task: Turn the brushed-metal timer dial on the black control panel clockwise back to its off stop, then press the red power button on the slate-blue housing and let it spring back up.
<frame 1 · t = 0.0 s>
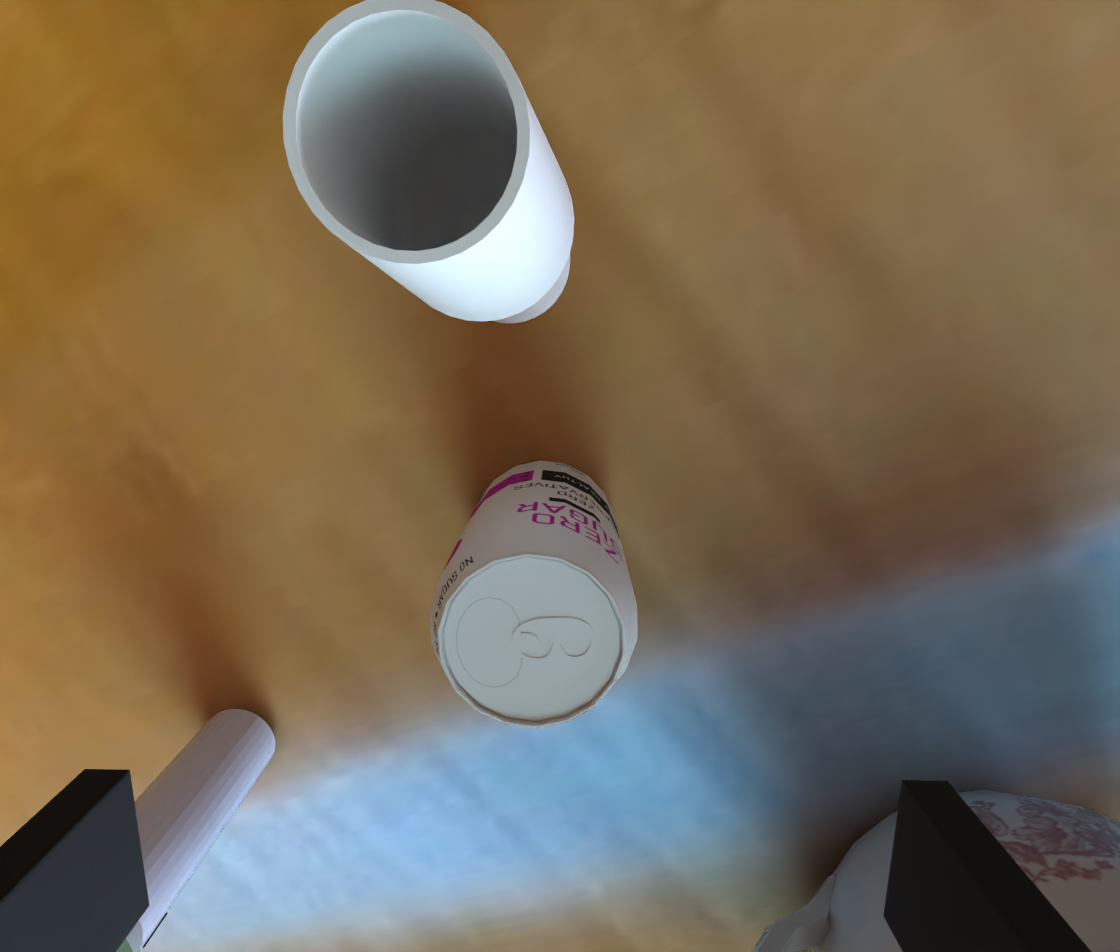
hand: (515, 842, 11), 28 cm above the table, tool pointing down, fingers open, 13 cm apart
chamber pot: (944, 887, 45), on the table
supplement can: (544, 525, 40), on the table
champagne flute: (509, 260, 36), on the table
perfume bottle: (246, 732, 43), on the table
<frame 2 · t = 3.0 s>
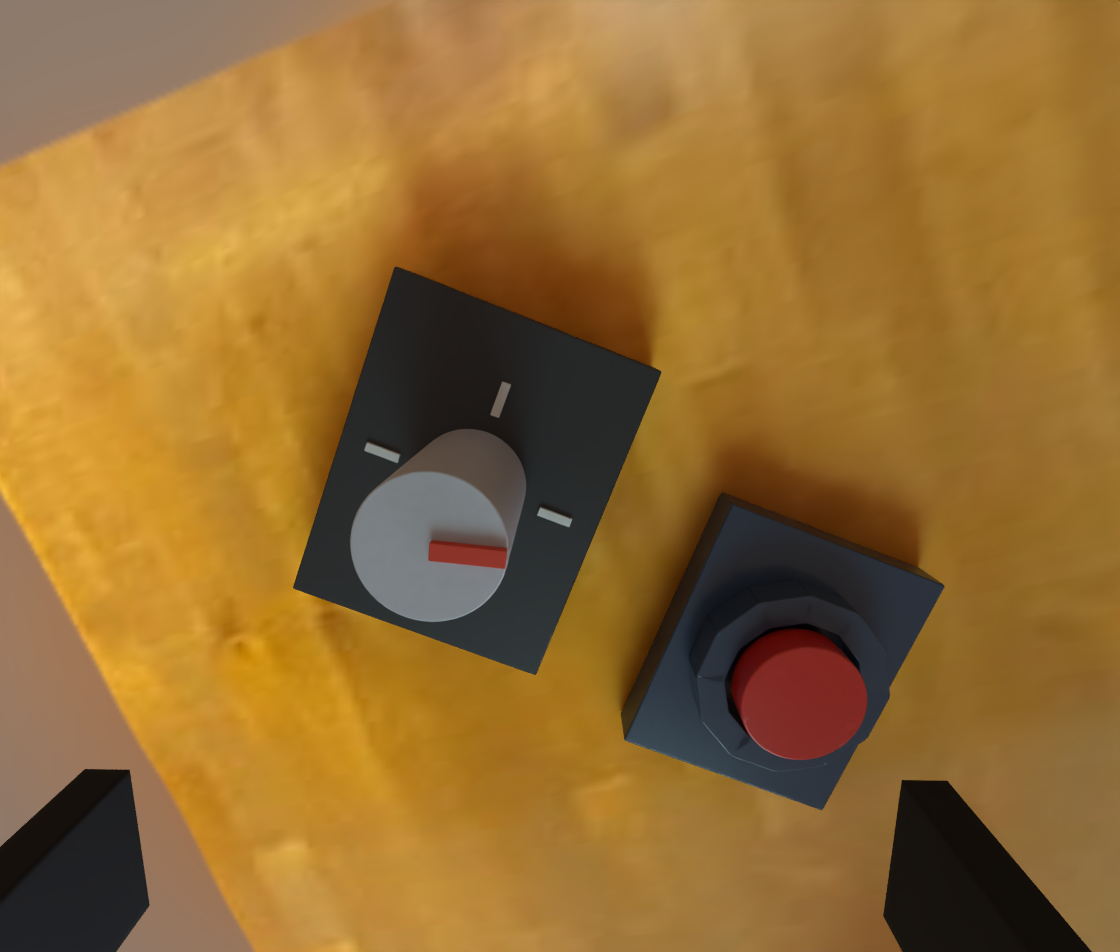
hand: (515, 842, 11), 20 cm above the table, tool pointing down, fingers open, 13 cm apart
control panel: (479, 469, 30), on the table
button housing: (765, 642, 32), on the table
power button: (797, 693, 27), point 4 cm above the table, slide at 0.1 cm
timer dial: (452, 512, 23), point 7 cm above the table, hinge at 105.0°
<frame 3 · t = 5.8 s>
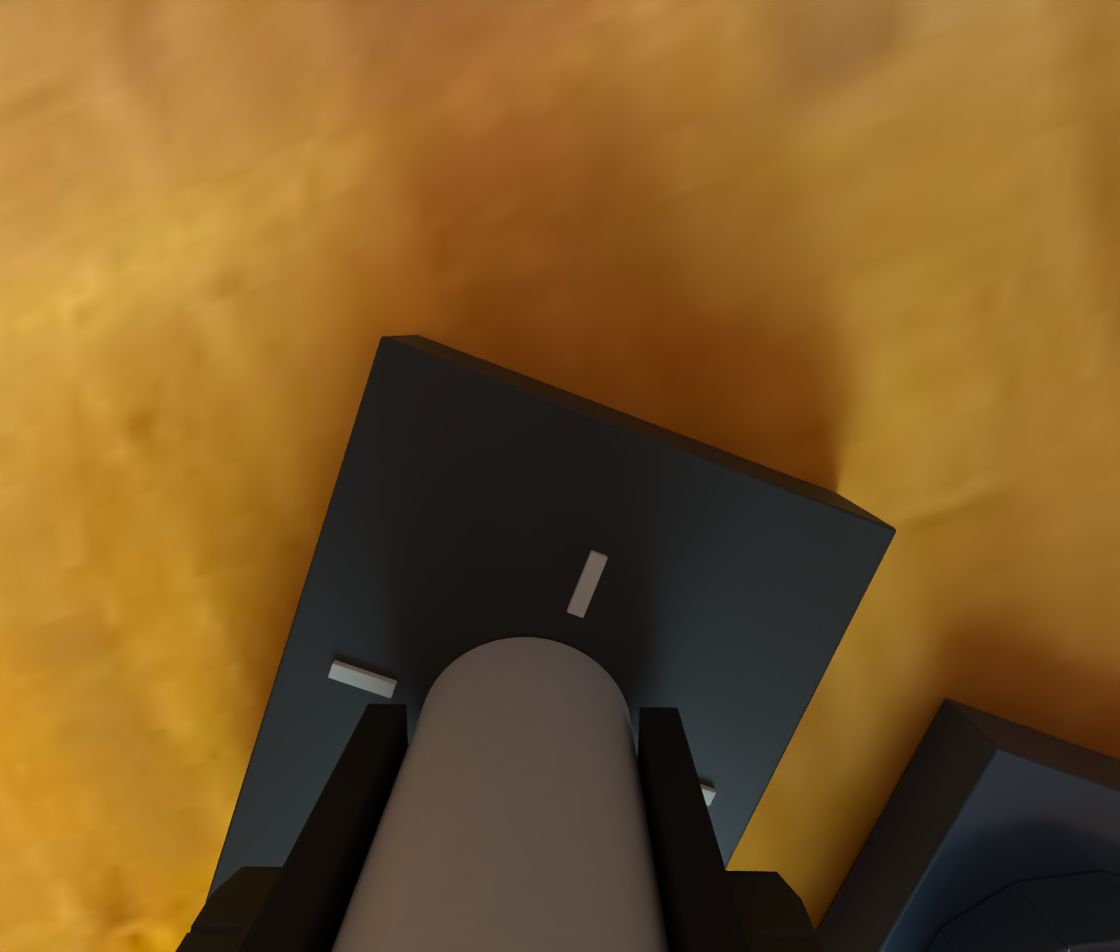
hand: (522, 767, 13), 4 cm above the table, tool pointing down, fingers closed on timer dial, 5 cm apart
control panel: (532, 664, 18), on the table
button housing: (1002, 929, 19), on the table
timer dial: (510, 890, 10), point 7 cm above the table, hinge at 105.0°, touching gripper
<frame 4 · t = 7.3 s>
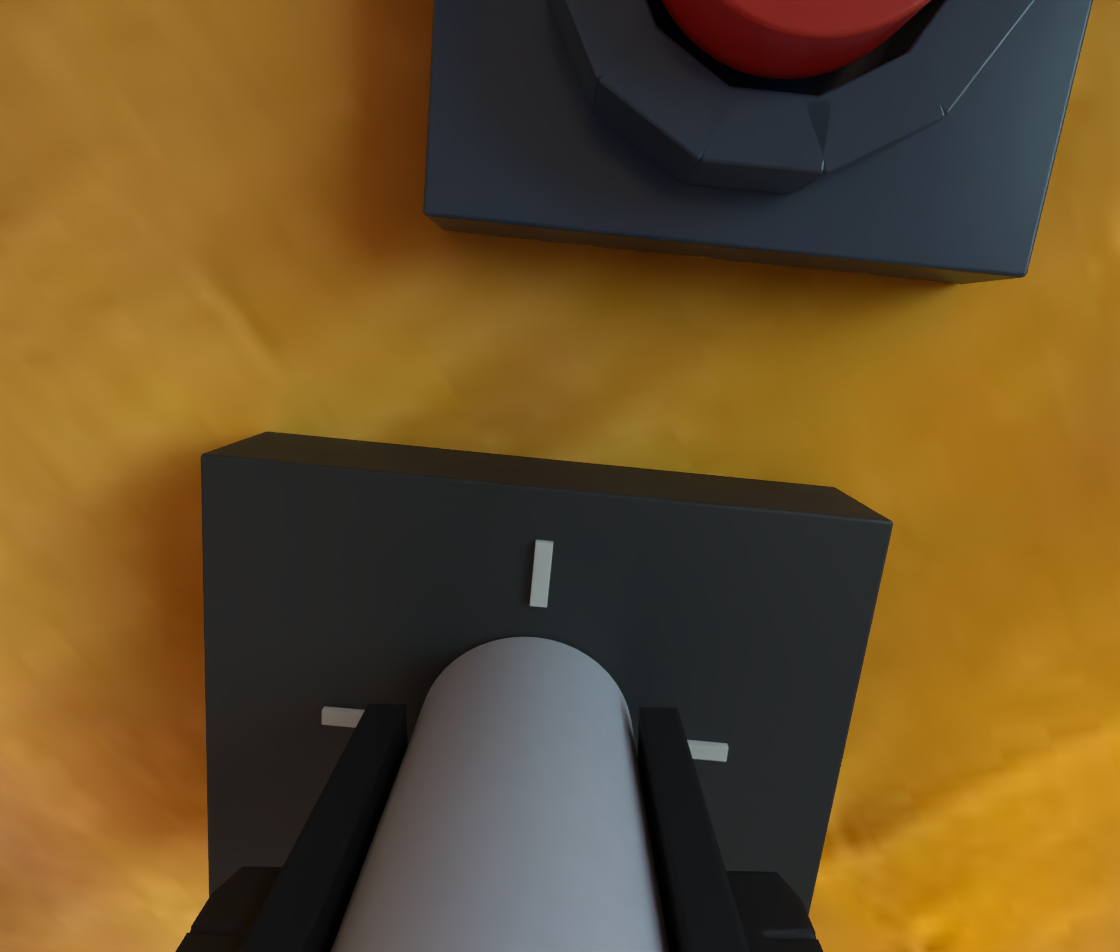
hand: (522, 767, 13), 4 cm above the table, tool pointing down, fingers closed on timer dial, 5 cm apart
control panel: (532, 664, 17), on the table
button housing: (738, 12, 14), on the table
timer dial: (510, 890, 10), point 7 cm above the table, hinge at 0.5°, touching gripper
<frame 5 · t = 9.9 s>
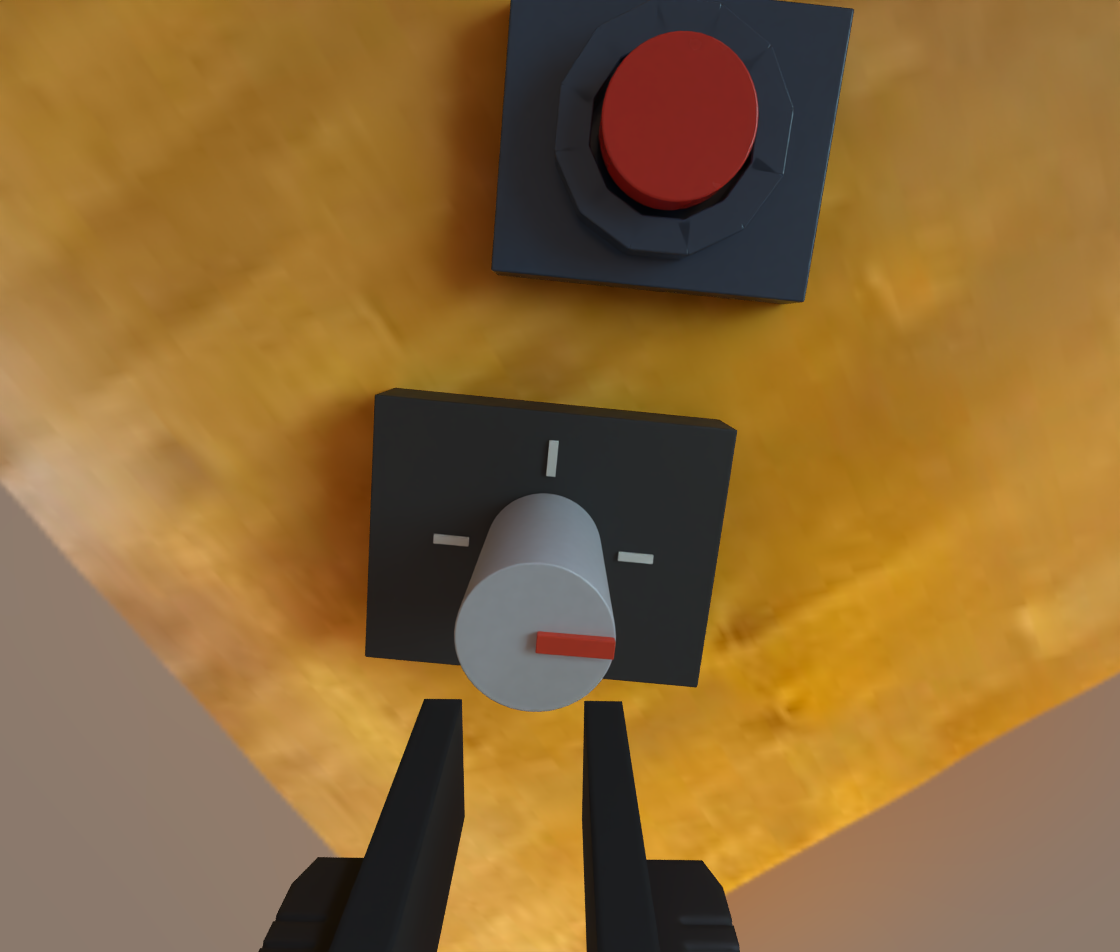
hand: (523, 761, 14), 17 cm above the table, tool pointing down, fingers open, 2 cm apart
control panel: (545, 526, 30), on the table
button housing: (657, 159, 26), on the table
power button: (675, 125, 22), point 4 cm above the table, slide at 0.1 cm
timer dial: (539, 588, 23), point 7 cm above the table, hinge at 0.7°
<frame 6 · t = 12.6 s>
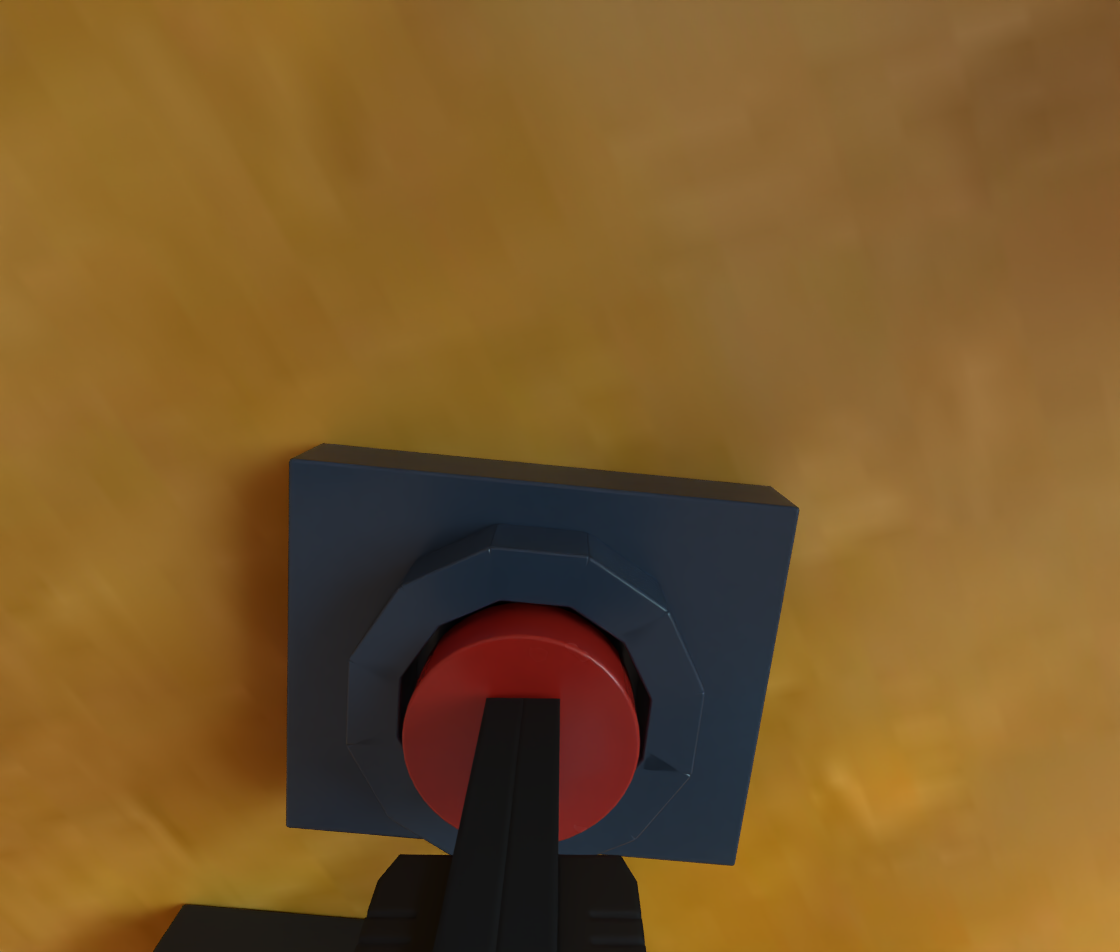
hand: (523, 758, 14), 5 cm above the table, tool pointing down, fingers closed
button housing: (531, 637, 19), on the table
power button: (523, 721, 15), point 4 cm above the table, slide at -0.3 cm, touching gripper
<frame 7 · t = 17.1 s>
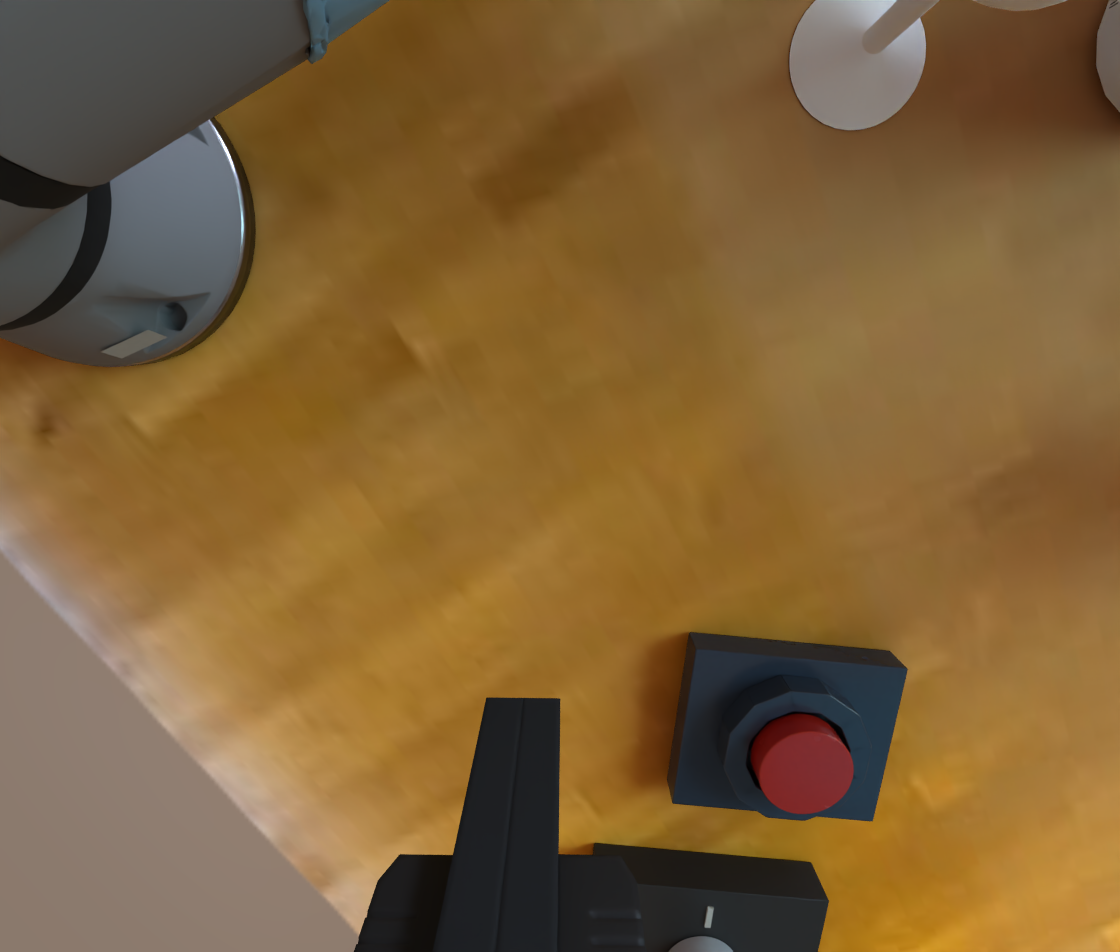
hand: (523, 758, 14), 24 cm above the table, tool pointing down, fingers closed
control panel: (690, 923, 44), on the table
button housing: (775, 716, 41), on the table
power button: (800, 763, 36), point 4 cm above the table, slide at 0.1 cm
champagne flute: (855, 58, 33), on the table
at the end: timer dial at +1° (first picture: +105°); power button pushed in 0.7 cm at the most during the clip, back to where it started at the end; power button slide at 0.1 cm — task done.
